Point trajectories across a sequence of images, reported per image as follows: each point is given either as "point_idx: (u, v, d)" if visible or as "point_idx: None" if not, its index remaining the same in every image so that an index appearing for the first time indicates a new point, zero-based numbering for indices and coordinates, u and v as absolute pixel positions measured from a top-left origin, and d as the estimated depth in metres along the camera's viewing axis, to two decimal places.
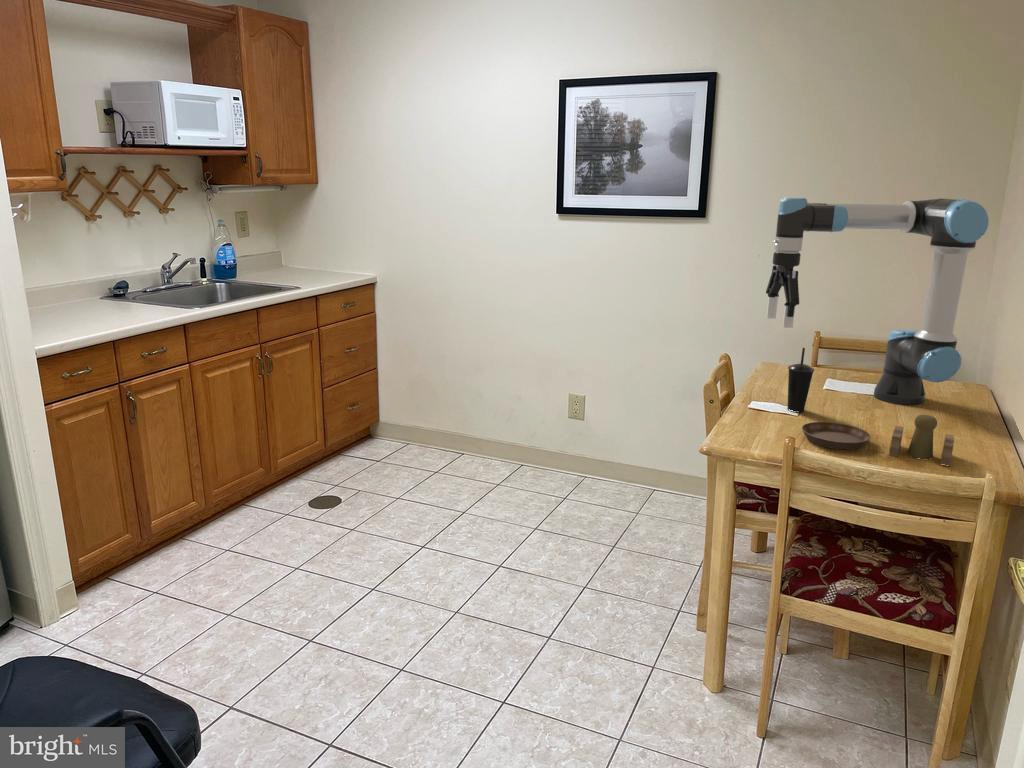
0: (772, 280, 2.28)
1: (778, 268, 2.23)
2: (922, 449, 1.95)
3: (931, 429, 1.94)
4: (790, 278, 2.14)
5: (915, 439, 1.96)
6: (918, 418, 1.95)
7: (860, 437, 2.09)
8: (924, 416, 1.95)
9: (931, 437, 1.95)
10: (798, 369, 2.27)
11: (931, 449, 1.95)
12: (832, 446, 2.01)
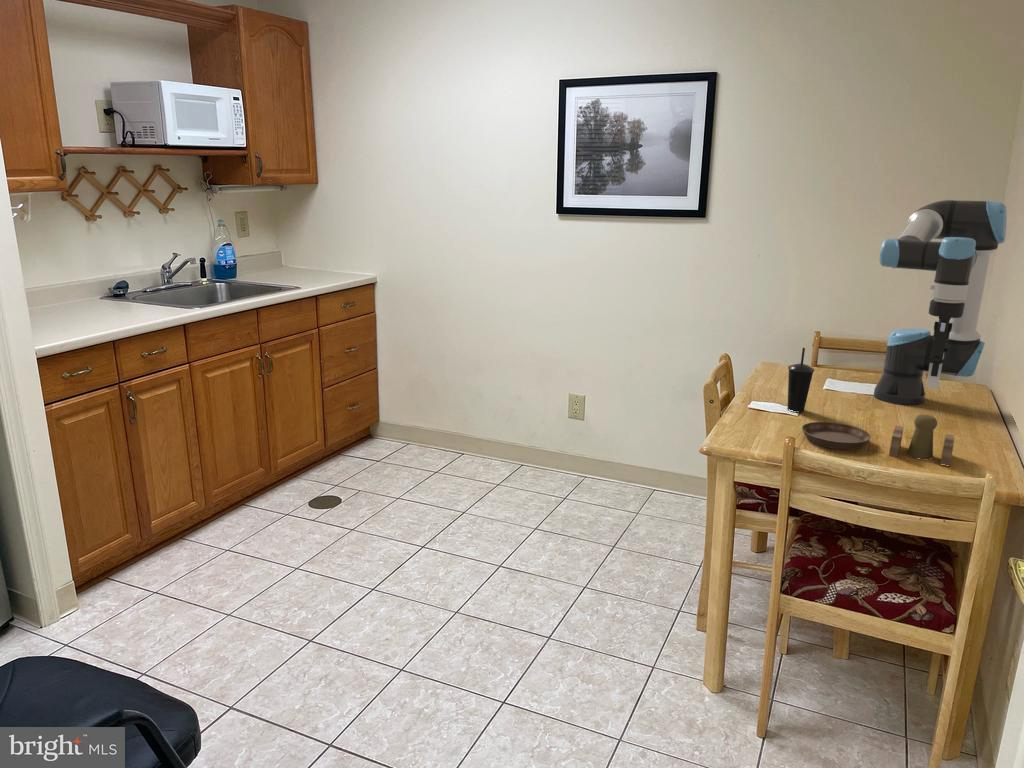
0: None
1: None
2: (922, 449, 1.95)
3: (931, 429, 1.94)
4: (937, 331, 1.83)
5: (915, 439, 1.96)
6: (918, 418, 1.95)
7: (860, 437, 2.09)
8: (924, 416, 1.95)
9: (931, 437, 1.95)
10: (798, 369, 2.27)
11: (931, 449, 1.95)
12: (832, 446, 2.01)
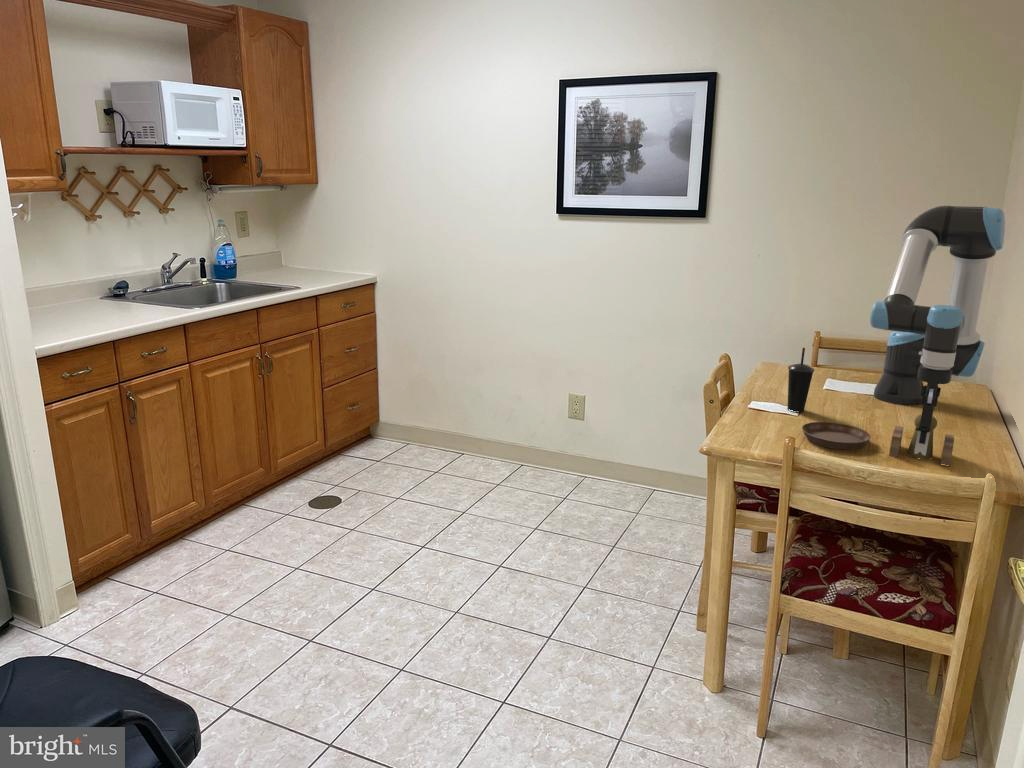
0: None
1: None
2: None
3: (931, 429, 1.94)
4: (924, 403, 1.89)
5: (915, 438, 1.96)
6: (918, 418, 1.95)
7: (860, 437, 2.09)
8: None
9: (931, 437, 1.95)
10: (798, 369, 2.27)
11: (931, 449, 1.95)
12: (832, 446, 2.01)
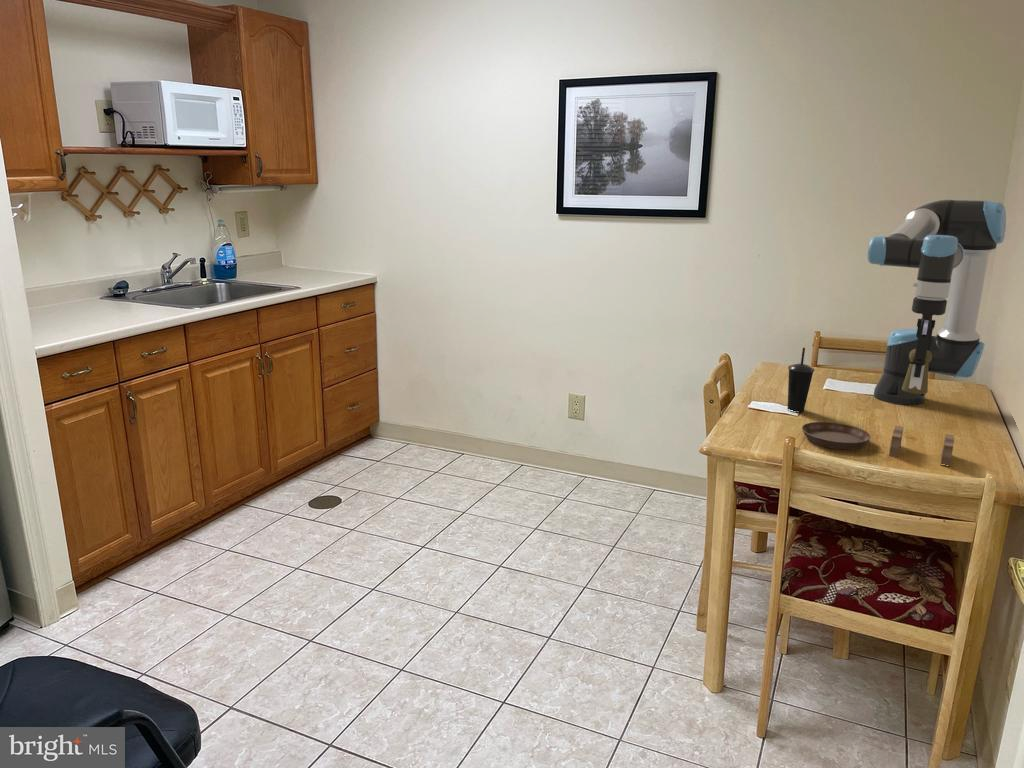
0: None
1: None
2: None
3: (926, 362, 1.91)
4: (919, 334, 1.86)
5: (910, 373, 1.93)
6: (913, 352, 1.92)
7: (860, 437, 2.09)
8: None
9: (926, 371, 1.92)
10: (798, 369, 2.27)
11: (926, 383, 1.92)
12: (832, 446, 2.01)
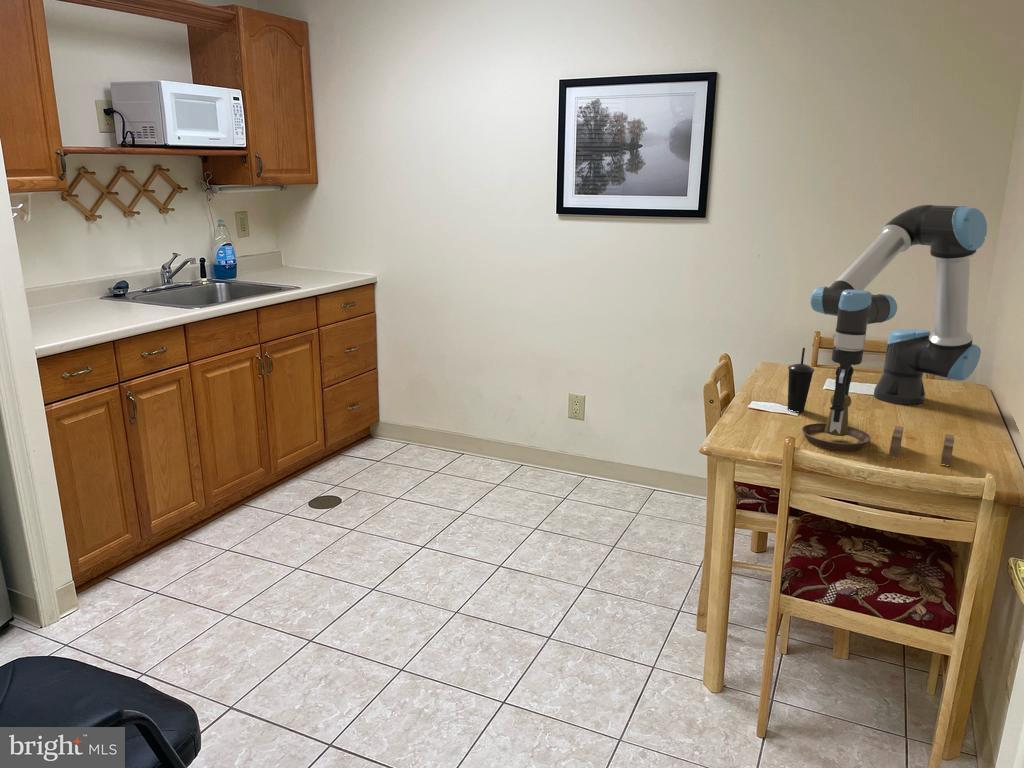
0: None
1: None
2: None
3: (845, 407, 2.03)
4: (836, 383, 1.99)
5: (831, 416, 2.05)
6: (833, 396, 2.04)
7: (860, 439, 2.09)
8: None
9: (845, 414, 2.04)
10: (798, 369, 2.27)
11: (846, 426, 2.05)
12: (833, 448, 2.01)
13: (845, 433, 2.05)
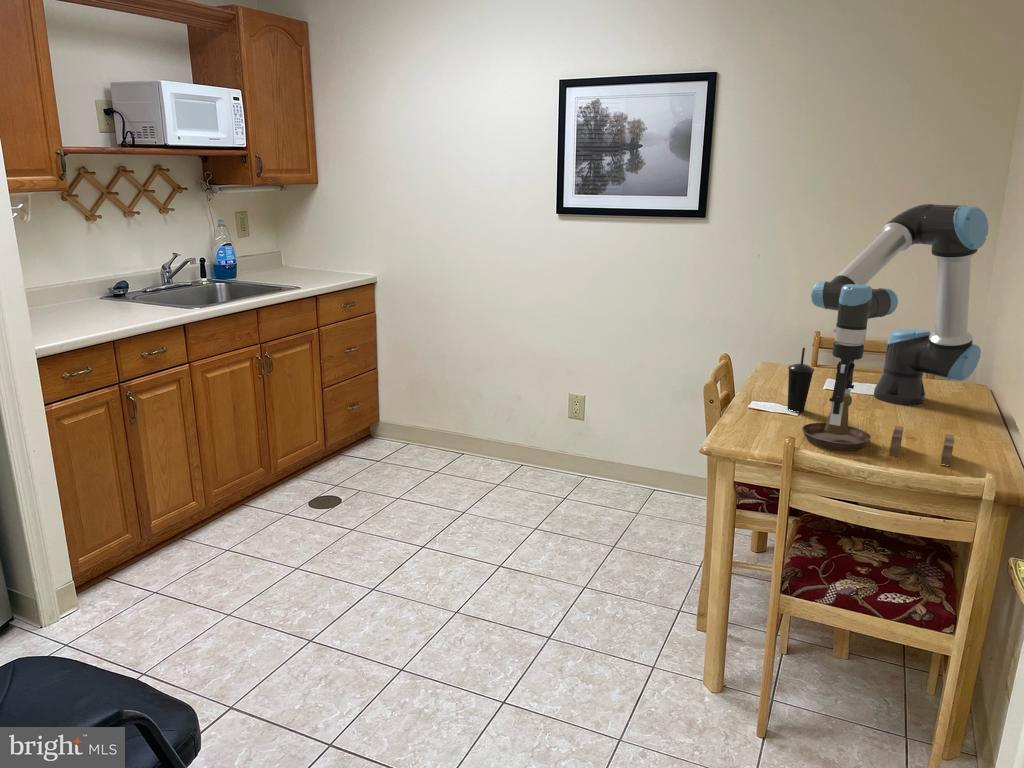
0: None
1: None
2: (837, 425, 2.04)
3: (846, 406, 2.03)
4: (838, 372, 1.97)
5: None
6: None
7: (860, 438, 2.09)
8: None
9: (846, 414, 2.04)
10: (798, 369, 2.27)
11: (846, 425, 2.05)
12: (833, 447, 2.01)
13: (845, 432, 2.05)
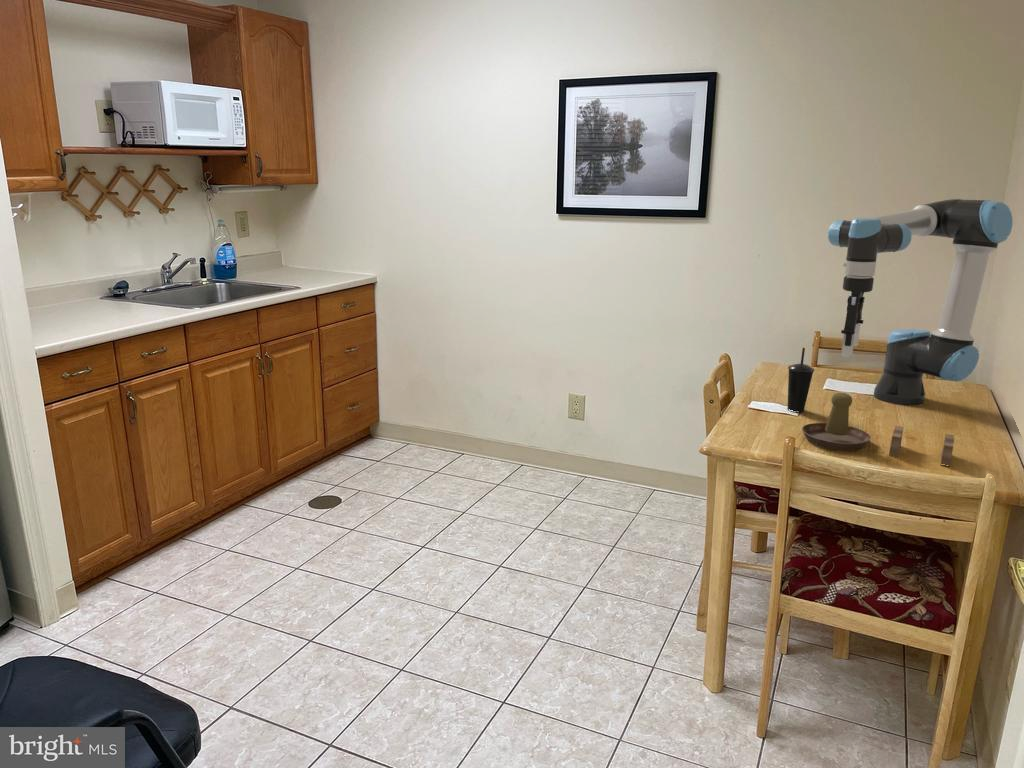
0: None
1: None
2: (836, 426, 2.04)
3: (845, 407, 2.02)
4: (849, 305, 2.01)
5: (831, 415, 2.05)
6: (834, 396, 2.04)
7: (860, 438, 2.09)
8: (840, 394, 2.03)
9: (845, 414, 2.03)
10: (798, 369, 2.27)
11: (846, 425, 2.04)
12: (833, 447, 2.01)
13: (844, 433, 2.05)
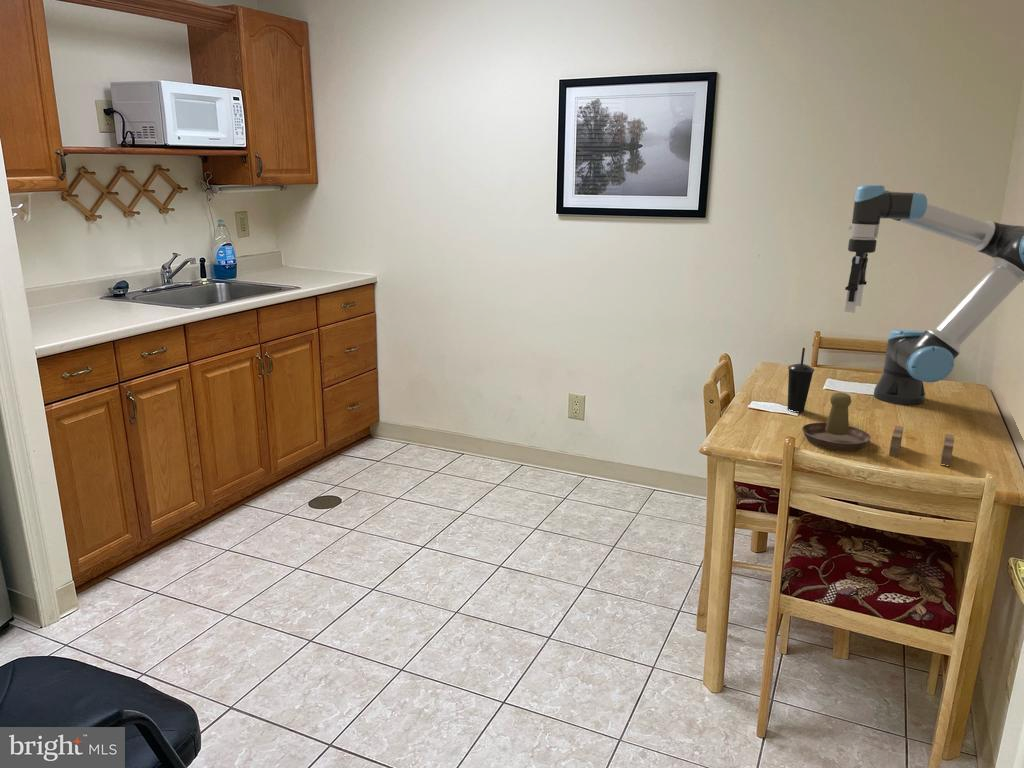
0: None
1: None
2: (834, 425, 2.04)
3: (843, 407, 2.02)
4: (853, 263, 2.19)
5: (830, 415, 2.05)
6: (832, 396, 2.04)
7: (860, 438, 2.09)
8: (838, 394, 2.03)
9: (844, 414, 2.03)
10: (798, 369, 2.27)
11: (845, 425, 2.04)
12: (833, 447, 2.01)
13: (843, 433, 2.04)
